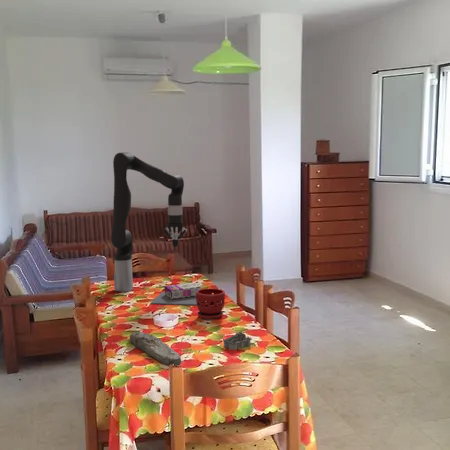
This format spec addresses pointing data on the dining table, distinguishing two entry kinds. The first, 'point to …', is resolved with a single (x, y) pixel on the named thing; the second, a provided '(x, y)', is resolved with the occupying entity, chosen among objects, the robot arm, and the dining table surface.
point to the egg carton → (237, 341)
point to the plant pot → (210, 303)
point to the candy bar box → (181, 290)
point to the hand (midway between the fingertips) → (175, 246)
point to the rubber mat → (174, 300)
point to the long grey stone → (155, 348)
